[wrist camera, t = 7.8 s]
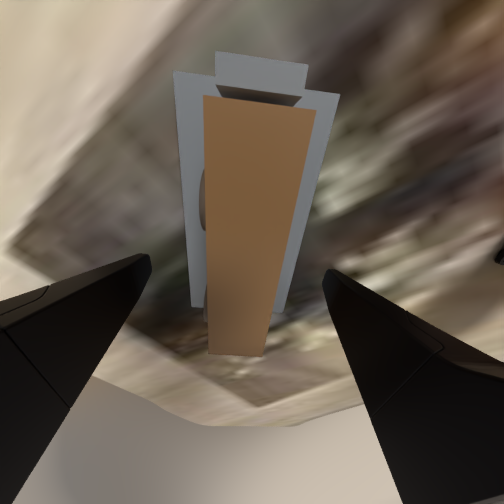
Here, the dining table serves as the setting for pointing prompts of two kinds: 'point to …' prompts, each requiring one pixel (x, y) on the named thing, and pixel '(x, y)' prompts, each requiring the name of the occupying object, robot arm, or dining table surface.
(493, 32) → the dining table surface
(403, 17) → the dining table surface
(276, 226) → the brown rectangular block
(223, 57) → the display cradle
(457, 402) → the robot arm
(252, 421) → the dining table surface
